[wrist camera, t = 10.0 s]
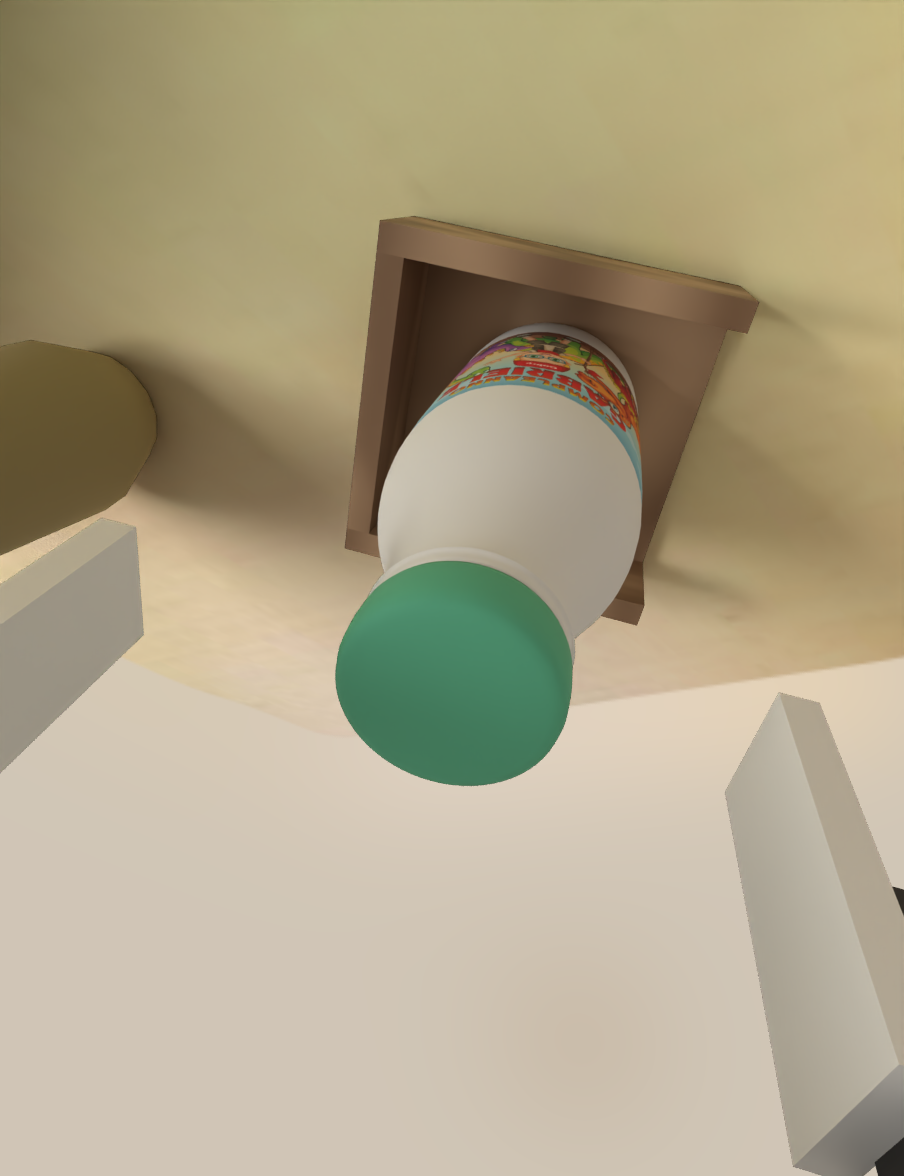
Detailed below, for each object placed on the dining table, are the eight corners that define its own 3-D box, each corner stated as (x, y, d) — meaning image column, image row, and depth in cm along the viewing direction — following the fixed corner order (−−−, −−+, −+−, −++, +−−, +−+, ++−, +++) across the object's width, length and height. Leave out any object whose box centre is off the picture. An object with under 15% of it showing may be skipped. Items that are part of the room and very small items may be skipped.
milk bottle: (639, 493, 31) (660, 862, 14) (468, 503, 33) (305, 838, 16) (635, 307, 28) (656, 500, 10) (444, 331, 29) (199, 526, 12)
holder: (376, 508, 35) (344, 548, 31) (414, 216, 28) (380, 220, 24) (635, 574, 34) (637, 625, 30) (739, 285, 27) (759, 302, 23)
